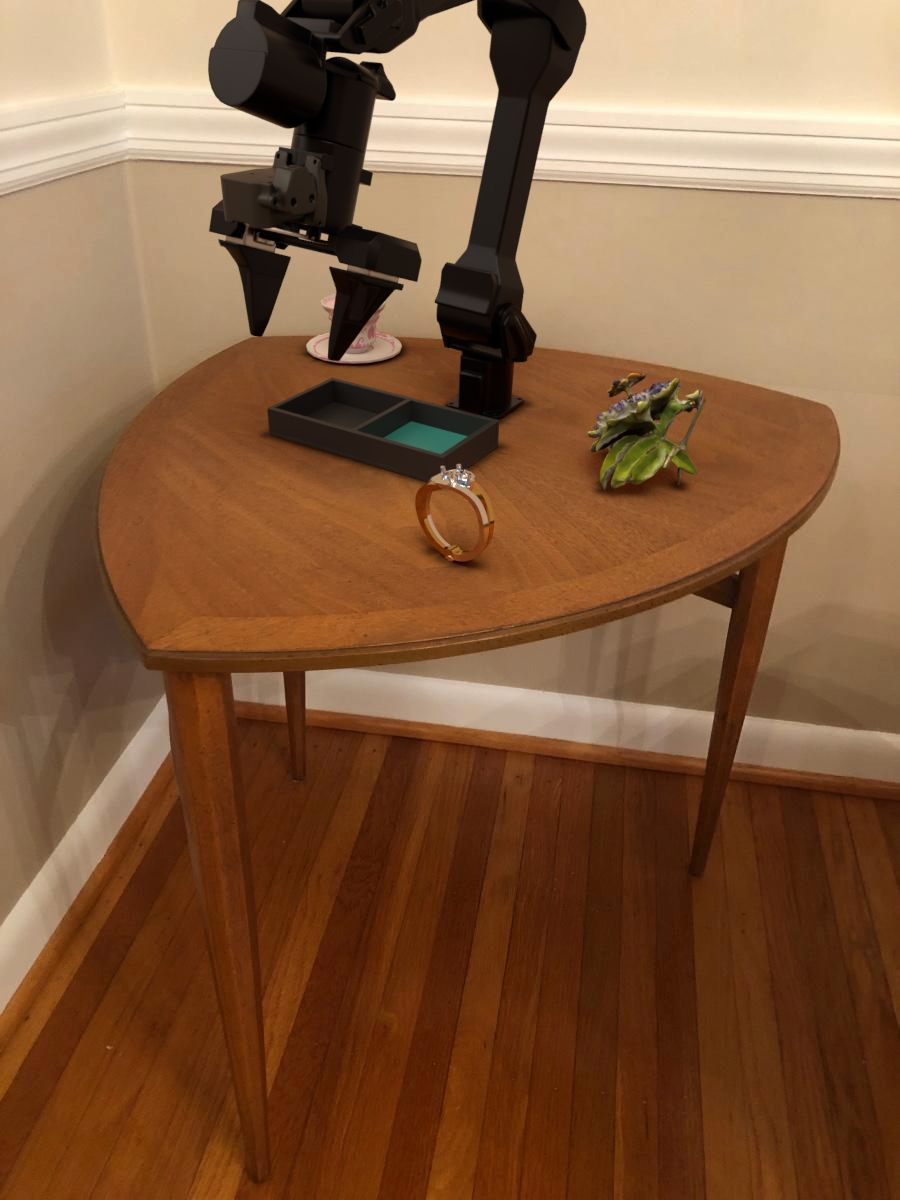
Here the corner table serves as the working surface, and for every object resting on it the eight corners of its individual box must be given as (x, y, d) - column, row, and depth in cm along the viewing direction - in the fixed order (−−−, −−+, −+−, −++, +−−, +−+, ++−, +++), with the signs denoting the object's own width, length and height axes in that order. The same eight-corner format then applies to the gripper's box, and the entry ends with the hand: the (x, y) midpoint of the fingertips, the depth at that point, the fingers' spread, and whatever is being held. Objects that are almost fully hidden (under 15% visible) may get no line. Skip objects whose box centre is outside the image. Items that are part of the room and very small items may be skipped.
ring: (498, 567, 75) (503, 477, 71) (471, 582, 73) (475, 490, 69) (435, 536, 79) (436, 449, 75) (408, 550, 77) (408, 461, 73)
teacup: (363, 372, 112) (361, 320, 108) (286, 352, 117) (282, 302, 114) (420, 346, 120) (421, 297, 117) (346, 328, 125) (344, 281, 122)
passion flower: (610, 506, 96) (642, 394, 96) (707, 523, 89) (743, 402, 89) (552, 475, 87) (588, 351, 88) (656, 491, 81) (695, 357, 81)
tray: (333, 402, 104) (332, 377, 102) (498, 446, 95) (499, 419, 93) (269, 434, 96) (266, 408, 94) (442, 486, 87) (442, 457, 86)
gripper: (168, 104, 72) (142, 312, 76) (346, 128, 62) (303, 365, 67) (276, 144, 80) (246, 328, 85) (445, 170, 71) (401, 377, 76)
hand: (293, 347), depth 78 cm, fingers open, 9 cm apart
